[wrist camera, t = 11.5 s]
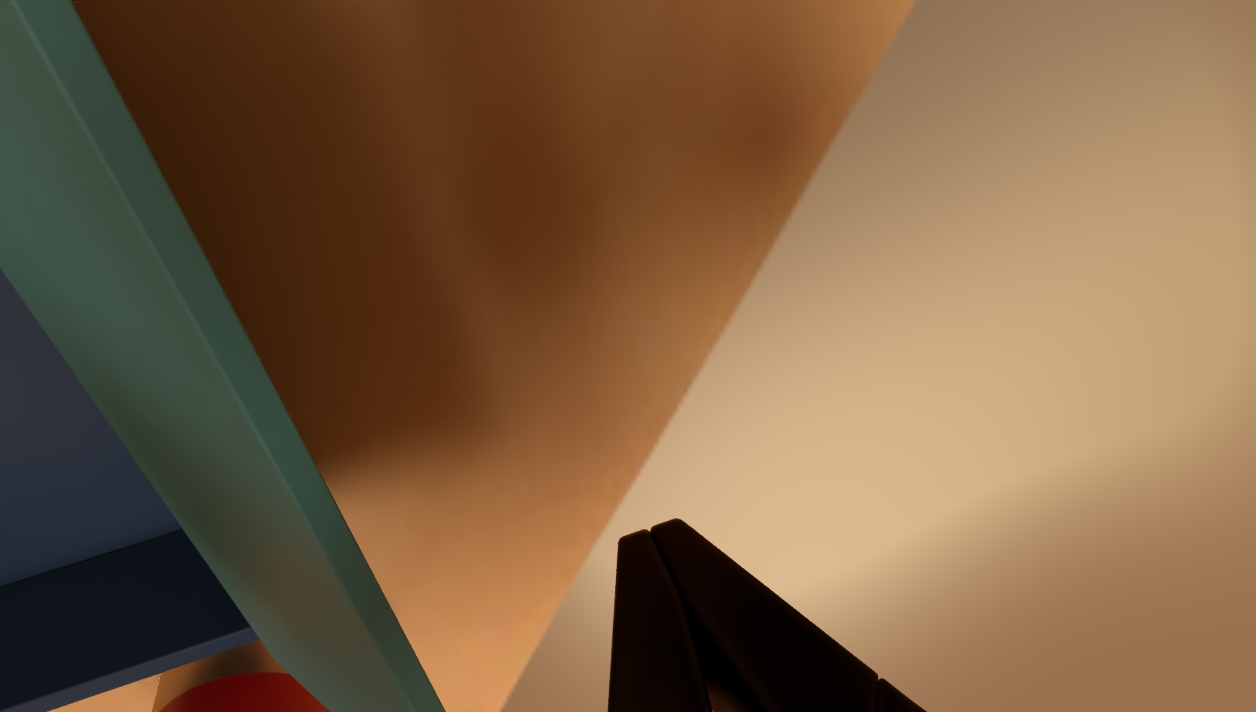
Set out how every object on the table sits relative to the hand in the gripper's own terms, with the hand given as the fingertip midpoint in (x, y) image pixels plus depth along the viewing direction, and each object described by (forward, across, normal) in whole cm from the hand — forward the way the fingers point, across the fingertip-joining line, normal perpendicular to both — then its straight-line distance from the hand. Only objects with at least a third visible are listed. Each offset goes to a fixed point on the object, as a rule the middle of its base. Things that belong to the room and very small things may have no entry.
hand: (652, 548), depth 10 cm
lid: (+3, +6, -1) cm, 7 cm away
